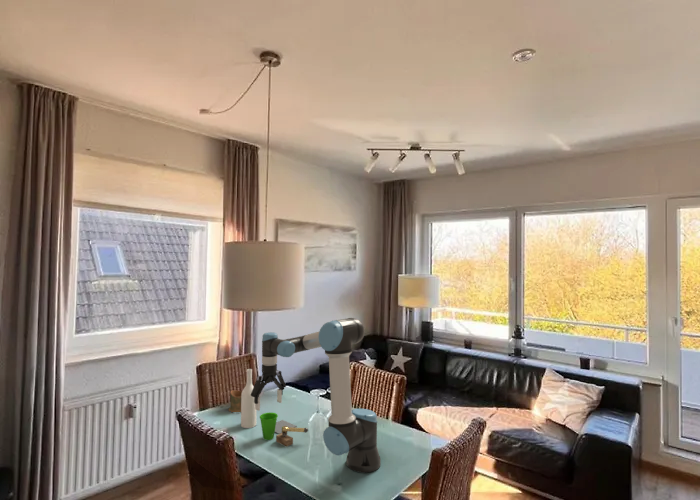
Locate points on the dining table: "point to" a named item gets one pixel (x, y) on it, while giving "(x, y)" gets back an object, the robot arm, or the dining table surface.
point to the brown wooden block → (284, 439)
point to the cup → (268, 425)
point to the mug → (235, 401)
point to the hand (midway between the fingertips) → (268, 405)
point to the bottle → (248, 404)
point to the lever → (293, 429)
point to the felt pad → (280, 424)
